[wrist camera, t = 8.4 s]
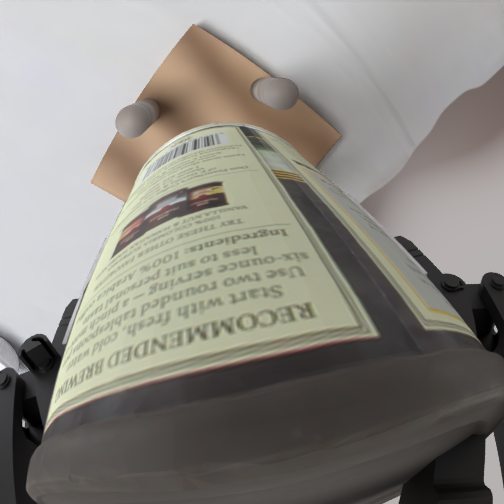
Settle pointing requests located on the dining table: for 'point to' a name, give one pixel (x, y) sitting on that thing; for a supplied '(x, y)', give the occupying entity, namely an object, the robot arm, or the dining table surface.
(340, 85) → the dining table surface
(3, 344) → the ramekin
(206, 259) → the coffee can
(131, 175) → the wooden peg stand
